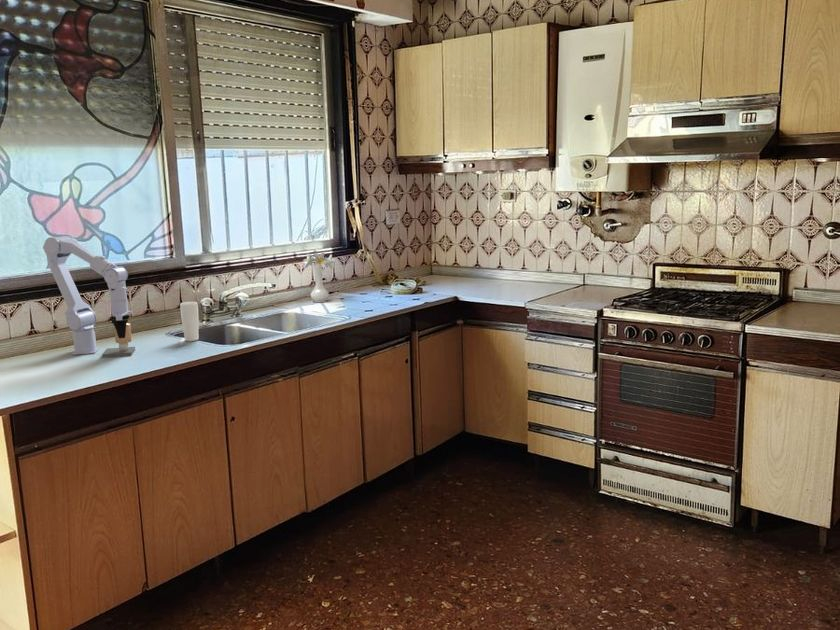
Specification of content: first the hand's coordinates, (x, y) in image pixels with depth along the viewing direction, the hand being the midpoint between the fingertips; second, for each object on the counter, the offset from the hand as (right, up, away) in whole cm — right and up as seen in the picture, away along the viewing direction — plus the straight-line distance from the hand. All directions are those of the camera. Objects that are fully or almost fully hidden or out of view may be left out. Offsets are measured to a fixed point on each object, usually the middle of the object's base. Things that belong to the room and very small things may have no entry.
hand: (122, 336), depth 274 cm
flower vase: (+59, +15, +105) cm, 121 cm away
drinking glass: (+19, -2, +22) cm, 29 cm away
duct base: (-2, -6, +2) cm, 7 cm away
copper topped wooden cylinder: (0, -2, 0) cm, 2 cm away
